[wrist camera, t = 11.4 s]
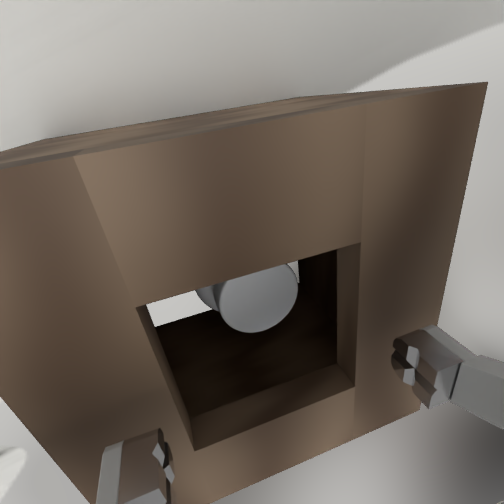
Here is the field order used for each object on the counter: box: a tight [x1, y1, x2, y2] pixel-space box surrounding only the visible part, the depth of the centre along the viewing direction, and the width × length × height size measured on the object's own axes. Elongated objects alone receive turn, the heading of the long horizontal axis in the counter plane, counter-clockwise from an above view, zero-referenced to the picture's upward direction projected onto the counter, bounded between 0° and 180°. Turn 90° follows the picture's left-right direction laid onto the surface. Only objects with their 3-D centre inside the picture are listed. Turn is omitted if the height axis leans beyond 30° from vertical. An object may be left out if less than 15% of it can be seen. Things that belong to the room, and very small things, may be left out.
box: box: [0, 82, 488, 504], centre depth 17 cm, size 16×16×13 cm
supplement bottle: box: [195, 264, 298, 333], centre depth 18 cm, size 5×5×10 cm
